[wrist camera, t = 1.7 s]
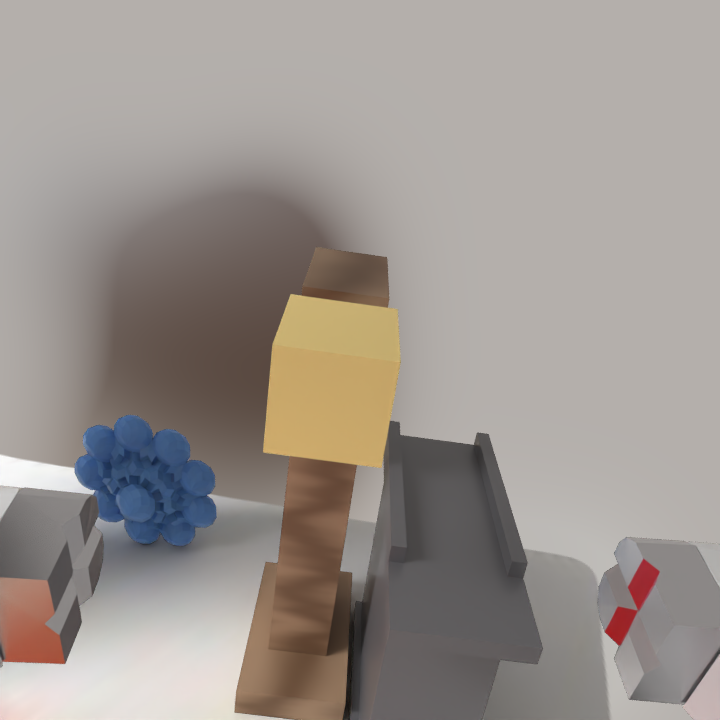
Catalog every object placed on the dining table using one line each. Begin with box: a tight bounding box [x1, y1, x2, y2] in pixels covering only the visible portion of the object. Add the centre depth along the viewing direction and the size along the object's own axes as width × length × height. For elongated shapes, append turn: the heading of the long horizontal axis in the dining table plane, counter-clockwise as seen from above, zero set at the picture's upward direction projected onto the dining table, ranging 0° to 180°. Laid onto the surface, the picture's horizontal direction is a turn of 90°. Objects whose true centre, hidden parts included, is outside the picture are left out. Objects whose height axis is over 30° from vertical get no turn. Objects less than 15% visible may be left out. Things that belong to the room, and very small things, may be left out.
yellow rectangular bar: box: [263, 294, 401, 468], centre depth 31 cm, size 4×17×4 cm, turn 178°
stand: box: [235, 247, 389, 720], centre depth 43 cm, size 7×12×29 cm, turn 178°
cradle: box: [349, 421, 543, 720], centre depth 41 cm, size 7×18×17 cm, turn 178°
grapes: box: [75, 415, 216, 546], centre depth 53 cm, size 12×7×12 cm, turn 87°
